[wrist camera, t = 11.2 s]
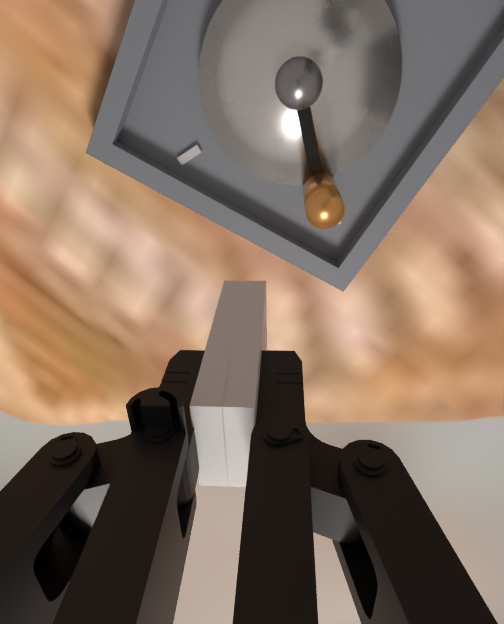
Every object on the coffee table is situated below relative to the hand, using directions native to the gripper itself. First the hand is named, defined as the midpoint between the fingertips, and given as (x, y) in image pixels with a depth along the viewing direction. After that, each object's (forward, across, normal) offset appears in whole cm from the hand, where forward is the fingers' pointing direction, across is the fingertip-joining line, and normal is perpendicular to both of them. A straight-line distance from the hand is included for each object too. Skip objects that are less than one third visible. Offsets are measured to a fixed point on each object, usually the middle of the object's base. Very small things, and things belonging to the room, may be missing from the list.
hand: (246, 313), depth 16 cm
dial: (+19, +2, +7) cm, 20 cm away
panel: (+20, +2, +7) cm, 22 cm away
